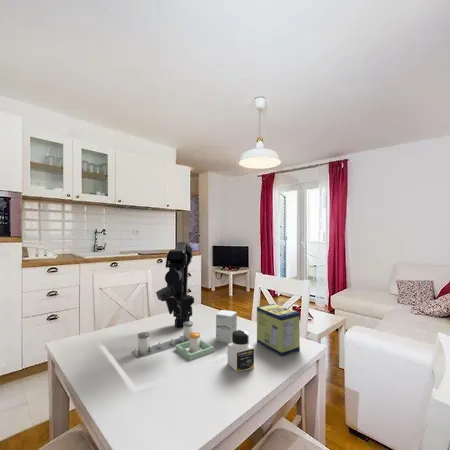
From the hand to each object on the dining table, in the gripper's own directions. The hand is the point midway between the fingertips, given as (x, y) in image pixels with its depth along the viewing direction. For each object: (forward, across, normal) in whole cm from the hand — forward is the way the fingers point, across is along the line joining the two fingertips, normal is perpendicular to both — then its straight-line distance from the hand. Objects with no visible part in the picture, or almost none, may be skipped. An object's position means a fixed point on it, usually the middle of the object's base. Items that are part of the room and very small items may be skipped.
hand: (176, 316), depth 109 cm
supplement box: (+12, +11, +19) cm, 25 cm away
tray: (+12, +11, +2) cm, 16 cm away
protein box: (+12, +28, +32) cm, 45 cm away
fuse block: (+12, 0, -4) cm, 13 cm away
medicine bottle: (+12, +30, +9) cm, 33 cm away
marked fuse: (+11, +11, +2) cm, 16 cm away
